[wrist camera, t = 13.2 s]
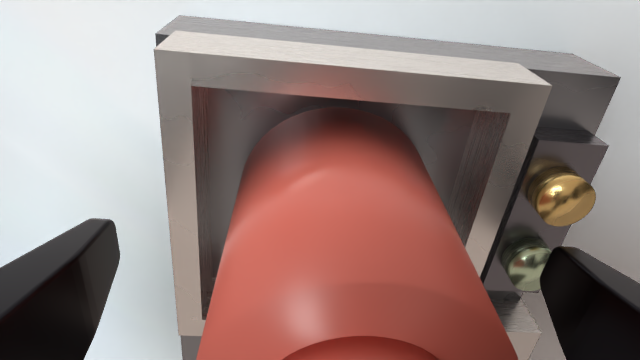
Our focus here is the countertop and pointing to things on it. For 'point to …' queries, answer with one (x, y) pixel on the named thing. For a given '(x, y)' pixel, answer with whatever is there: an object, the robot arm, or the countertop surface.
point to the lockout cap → (345, 254)
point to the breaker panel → (402, 111)
